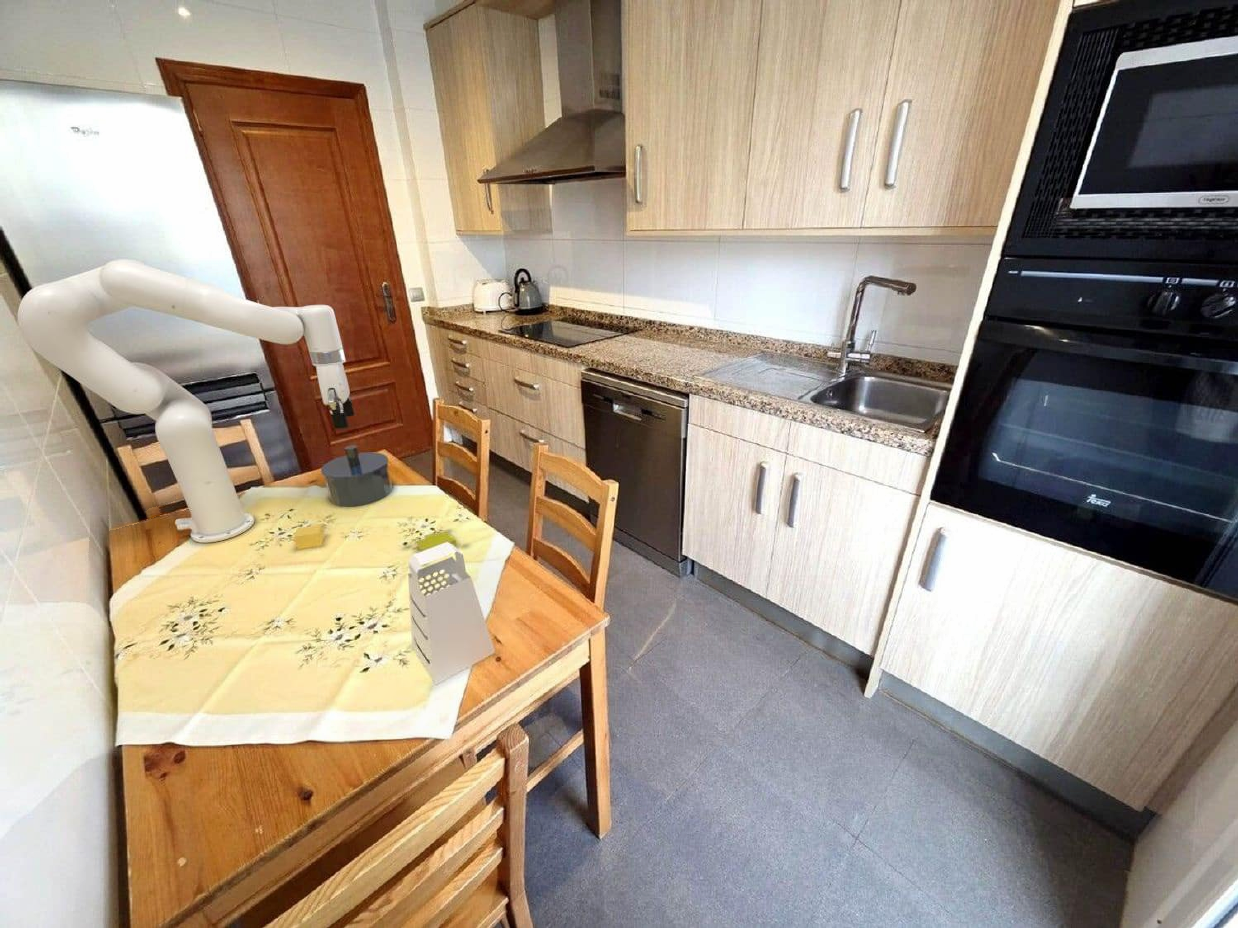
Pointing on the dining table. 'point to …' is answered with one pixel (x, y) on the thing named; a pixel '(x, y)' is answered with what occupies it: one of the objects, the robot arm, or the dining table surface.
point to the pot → (360, 488)
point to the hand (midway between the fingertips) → (345, 421)
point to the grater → (446, 615)
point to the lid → (354, 464)
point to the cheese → (309, 536)
